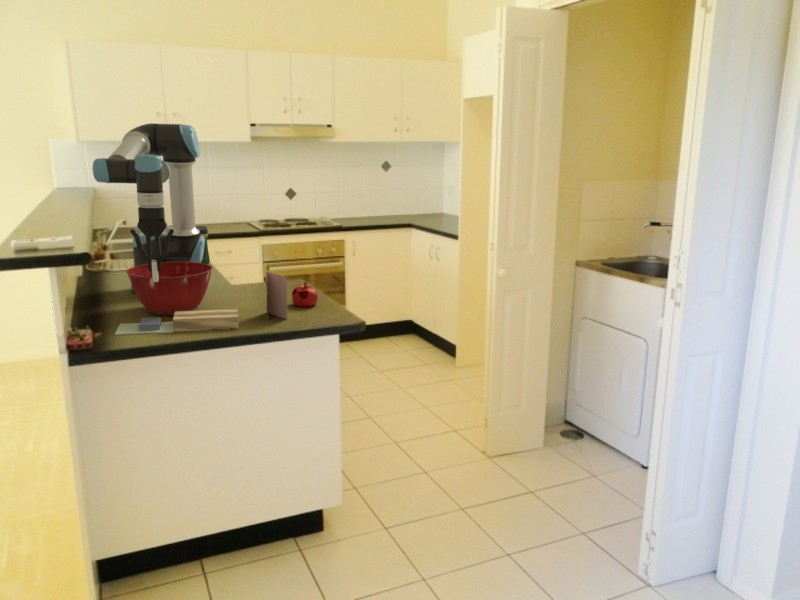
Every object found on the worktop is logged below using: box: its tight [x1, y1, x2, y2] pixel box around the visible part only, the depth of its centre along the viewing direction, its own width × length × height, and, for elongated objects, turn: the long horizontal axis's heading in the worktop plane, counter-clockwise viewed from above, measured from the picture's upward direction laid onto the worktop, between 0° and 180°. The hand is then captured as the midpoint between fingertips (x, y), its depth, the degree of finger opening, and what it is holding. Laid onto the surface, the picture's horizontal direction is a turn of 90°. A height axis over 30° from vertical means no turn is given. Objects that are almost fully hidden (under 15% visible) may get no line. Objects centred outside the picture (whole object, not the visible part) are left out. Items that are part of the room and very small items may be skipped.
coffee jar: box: [195, 225, 211, 265], centre depth 305 cm, size 10×8×19 cm
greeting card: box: [263, 271, 288, 320], centre depth 218 cm, size 11×7×15 cm, turn 13°
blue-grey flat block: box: [138, 316, 162, 331], centre depth 201 cm, size 8×6×2 cm
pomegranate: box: [291, 280, 319, 308], centre depth 236 cm, size 10×10×9 cm
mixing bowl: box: [125, 262, 213, 317], centre depth 221 cm, size 28×28×16 cm
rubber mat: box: [114, 321, 175, 336], centre depth 201 cm, size 11×17×1 cm, turn 106°
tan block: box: [172, 308, 240, 333], centre depth 206 cm, size 10×20×4 cm, turn 106°
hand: (155, 280), depth 199 cm, fingers closed
